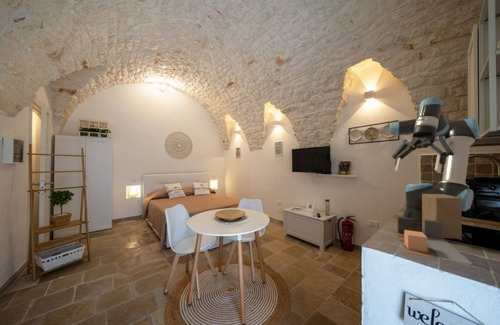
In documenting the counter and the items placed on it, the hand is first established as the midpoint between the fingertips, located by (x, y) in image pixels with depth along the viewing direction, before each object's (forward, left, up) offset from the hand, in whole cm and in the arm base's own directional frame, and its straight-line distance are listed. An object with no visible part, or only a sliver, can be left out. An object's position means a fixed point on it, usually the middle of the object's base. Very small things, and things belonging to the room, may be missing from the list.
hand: (415, 171), depth 77 cm
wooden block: (-24, +15, -34) cm, 44 cm away
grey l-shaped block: (-5, +10, -33) cm, 35 cm away
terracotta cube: (0, 0, -32) cm, 32 cm away
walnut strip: (-5, 0, -33) cm, 34 cm away
